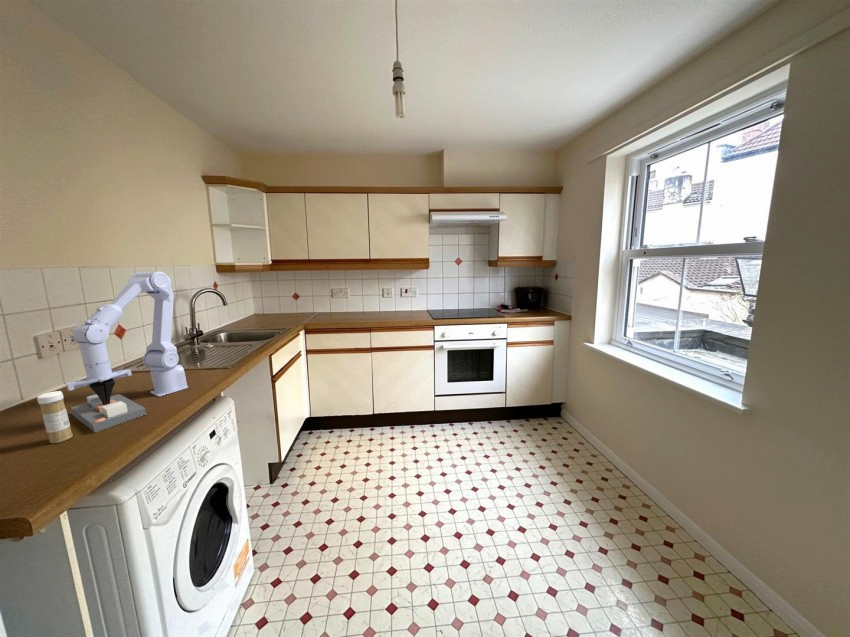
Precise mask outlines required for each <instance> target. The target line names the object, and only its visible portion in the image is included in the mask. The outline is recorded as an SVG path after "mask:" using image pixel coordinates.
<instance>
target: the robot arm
mask: <svg viewBox="0 0 850 637" xmlns="http://www.w3.org/2000/svg"><path fill="white" fill-rule="evenodd" d="M127 281H128V282H127V284H126V285H125V286H124V287H123V289H122V290H121V291H120V292H119V293H118V294H117V295H116V297H114V299H113V300H112V301H111V302H110V304H103V305H101V306H97V307H96V312H94V313H93V314H92V315H91V316H90V317H89V319H86V320H85V321H84V324H81V325H78V326H77V327H75V329H74V330H73V333H72V335H70V337H71V339H72V340H73V341H74V342H75V343H76V344H78V347H79V350H80V354H81V358H82V362H83V366H84V367H83V368H84V370H85V375H86V377H84V378H82V379H78V380H74V381H71V382H67V383H65V385H66V388H67V391H69V392H70V391H74V390H76V389H80V388H83V387H84V388H85V387H87V386H88V387H89V388H91V390H92V391H93V392H94V394H95V395H96V394H97V395H98V397H99V398H100V400H101V402H102V404H103V405H107V404H110V397H111V396H112V392H113V388H114V387H115V385H116V381H115V380H116V379H119V378H124V377H130V376H132V370H131V369H130V368H127V369H121V370H116V371H113V370H112V365H111V362H110V357H109V353H108V348H107V343H106V340H108V339H109V337H110V331H111V329H112V328H113V327H114V326H115V325H116V323H118V321H119V320H121V318H122V317H123V316H124V313H123V310H124V309H125V308H126V307H128V305H129V304H130V303H132V301H133V300H134V299H136V298H137V296H139V295H140V294H142V293H143V294H144V293H146V294H148V295H149V296H150V297H151V298H153V299H154V305H153V318H152V319H153V320H152V336H151V343H150V344H149V345H147V347H146V350H145V353H144V355H143V358H142V363H143V365H144V366H145V367H147V368H148V370H149V371H150V377H151V381H152V385H153V389H154V390H151V391H149V393H150V394H152V395H154V396H156V397H162V396H166V394H167V395H169V394H172V393H176V392H180V391H183V390H186V389H188V388H189V386H188V383H187V377H186V373H185V369H184V367H183V365H182V364H178V363H179V359H180V358H179V354H178V350H177V346H175V344H173V343H172V333H173V330H172V329H173V317H174V316H173V315H174V314H173V313H174V298H175V295H174V294H175V293H174V292H173V289H172V279H171V277H170V276H168V274H166V273H165V272H163V271H151V272H149V271H148V272H147V271H146V272H144V271H139V272H135V273H134V274H133V276H132V277H130V278H128V280H127Z"/></svg>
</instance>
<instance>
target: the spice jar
mask: <svg viewBox="0 0 850 637" xmlns="http://www.w3.org/2000/svg"><path fill="white" fill-rule="evenodd" d="M36 400H37V403H38V405H39V406H40V410H41V411H40V412H41V415H42V418H43V424H44V427H45V431H46V432H47V436H48V439H49V440H48V442H49V443H50V444H58V443H62V442H65V441H67V440H70V439H72V438H73V436H74V435H73V432H72V428H71V424H70V420H69V416H68V412H67V408H66V405H65V402H64V393H63V392H62V391H61V390H58V391H57V390H56V391H50V392H46V393H43V394H40V395H38V396H37V398H36Z"/></svg>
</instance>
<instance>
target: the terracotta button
mask: <svg viewBox="0 0 850 637" xmlns="http://www.w3.org/2000/svg"><path fill="white" fill-rule="evenodd" d="M116 402H117V401H115V400H110V404H112V403H116ZM107 405H109V404H107ZM102 406H106V405H103V404H102V403H100V404H96V405H95V409H96V411H97V412H98V413H100V412H103V411H102Z"/></svg>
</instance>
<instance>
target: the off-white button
mask: <svg viewBox="0 0 850 637" xmlns="http://www.w3.org/2000/svg"><path fill="white" fill-rule="evenodd" d="M102 411H103V415H104V417H106V418H110V417H114V416H117V415H120V414H123V413H126V412H128V410H127V406H126V404H125V403H124V402H122V401H119V402H116V403H112V404H109V405H106V406H102Z"/></svg>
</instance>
